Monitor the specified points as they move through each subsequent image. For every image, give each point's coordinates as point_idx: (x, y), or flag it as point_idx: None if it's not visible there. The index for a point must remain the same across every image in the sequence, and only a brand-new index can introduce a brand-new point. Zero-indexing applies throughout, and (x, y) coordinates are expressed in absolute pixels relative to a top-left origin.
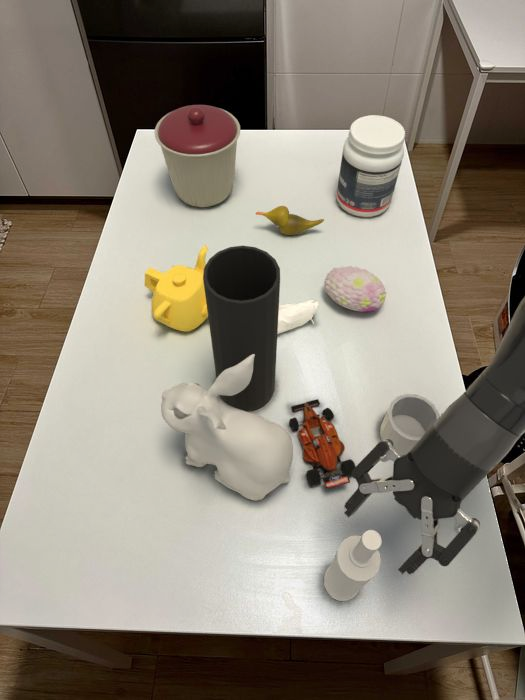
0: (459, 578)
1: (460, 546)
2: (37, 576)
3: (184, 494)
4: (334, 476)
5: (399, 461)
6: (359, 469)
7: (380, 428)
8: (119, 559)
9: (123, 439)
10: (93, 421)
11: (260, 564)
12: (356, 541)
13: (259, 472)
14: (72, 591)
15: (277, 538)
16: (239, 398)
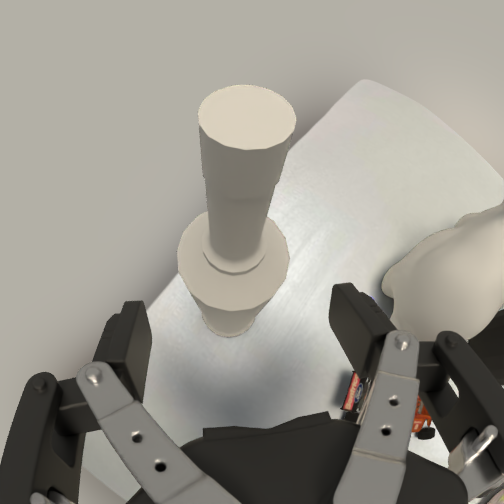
0: None
1: (11, 452)
2: (386, 99)
3: (416, 216)
4: (361, 393)
5: (463, 496)
6: (463, 354)
7: None
8: (378, 138)
9: (474, 203)
10: (489, 194)
11: (310, 238)
12: (269, 265)
13: (442, 252)
14: (367, 105)
15: (327, 276)
16: (496, 321)
